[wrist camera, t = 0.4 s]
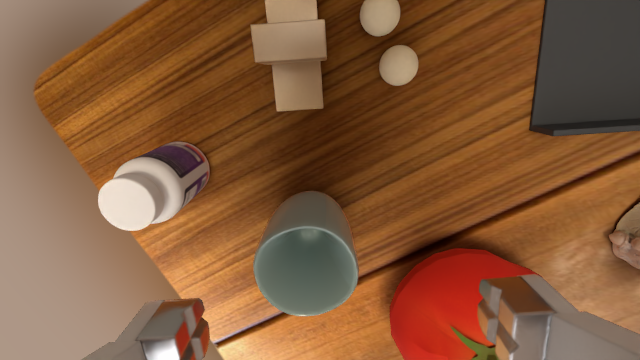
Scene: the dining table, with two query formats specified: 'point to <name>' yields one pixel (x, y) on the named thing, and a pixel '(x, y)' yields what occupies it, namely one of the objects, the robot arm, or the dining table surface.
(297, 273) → the cup
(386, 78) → the crumb
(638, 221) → the figurine
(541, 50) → the dustpan
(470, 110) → the dining table surface
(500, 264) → the tomato
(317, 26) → the brush
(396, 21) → the crumb
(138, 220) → the pill bottle
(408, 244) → the dining table surface
